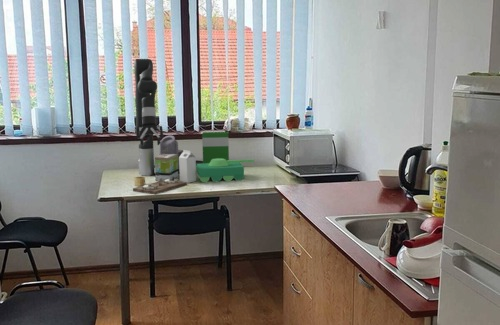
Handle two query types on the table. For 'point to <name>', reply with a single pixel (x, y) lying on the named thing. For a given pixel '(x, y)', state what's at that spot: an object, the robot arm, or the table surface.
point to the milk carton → (187, 167)
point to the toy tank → (221, 170)
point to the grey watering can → (170, 147)
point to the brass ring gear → (139, 181)
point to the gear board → (160, 186)
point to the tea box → (166, 166)
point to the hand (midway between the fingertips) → (150, 145)
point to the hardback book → (215, 146)
